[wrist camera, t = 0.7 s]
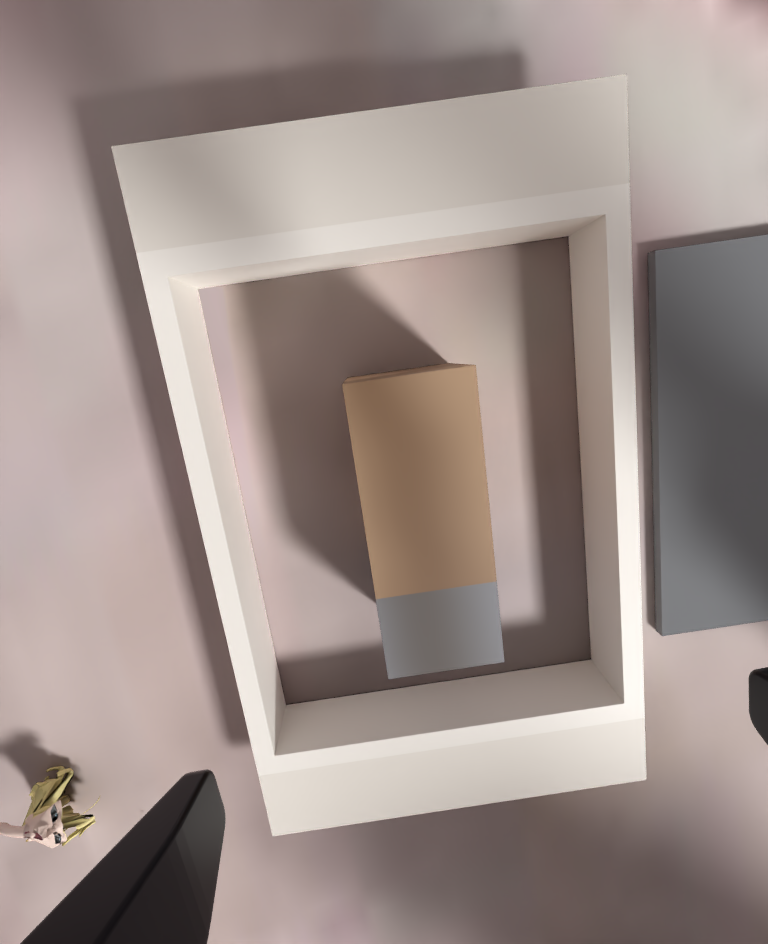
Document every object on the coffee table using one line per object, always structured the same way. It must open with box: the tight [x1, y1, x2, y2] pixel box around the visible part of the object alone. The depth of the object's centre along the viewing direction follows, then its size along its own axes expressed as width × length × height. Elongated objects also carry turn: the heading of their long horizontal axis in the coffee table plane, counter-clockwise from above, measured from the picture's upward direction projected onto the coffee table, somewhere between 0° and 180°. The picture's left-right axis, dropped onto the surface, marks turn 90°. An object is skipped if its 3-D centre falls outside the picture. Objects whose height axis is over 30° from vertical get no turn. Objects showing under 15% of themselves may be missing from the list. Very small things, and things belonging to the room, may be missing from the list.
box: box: [342, 363, 504, 679], centre depth 19 cm, size 4×10×5 cm, turn 8°
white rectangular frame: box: [111, 74, 646, 836], centre depth 19 cm, size 16×26×3 cm, turn 8°
